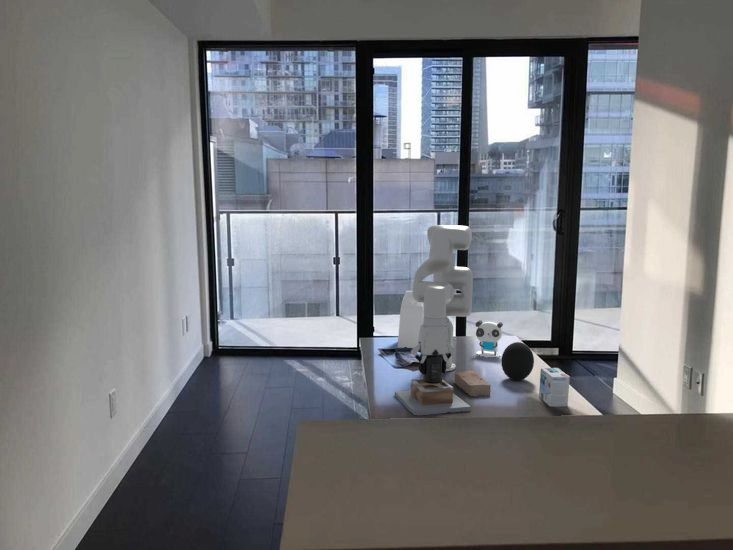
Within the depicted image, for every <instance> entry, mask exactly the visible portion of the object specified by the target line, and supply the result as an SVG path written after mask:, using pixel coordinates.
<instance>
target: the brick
mask: <svg viewBox="0 0 733 550" xmlns="http://www.w3.org/2000/svg"><path fill="white" fill-rule="evenodd" d="M454 383H455V385H457V387H459V388H460V389H461V388H462V389H461V390H462V391H463V392H465V393H466V394H467V393H468V394H467V395H469V396H470V397H478V396H477V395H485V396H487V395H488V396H491V391H492V388H491V387H492V386H491V384H490V382H488V381H486V380H485V379H483V378H482V376H480V375H479V373H478V372H476V371H473V370H466V371H465V370H464V371H457V372H456V371H455V372H454Z"/></svg>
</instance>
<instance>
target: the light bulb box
mask: <svg viewBox="0 0 733 550" xmlns="http://www.w3.org/2000/svg"><path fill="white" fill-rule="evenodd" d="M539 375H540V376H539V389H538V390H539V391H538V397H539V398H540V399H541V400H543V402H544V403H545V404H546V405H547V406H549V407H568V404H569V389H570V380H571V379H570V378H571V376H570V375H568V374H567V373H565V372H564V371H562V369H560V368H559V367H540V374H539Z"/></svg>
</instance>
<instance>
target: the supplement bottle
mask: <svg viewBox="0 0 733 550" xmlns="http://www.w3.org/2000/svg"><path fill="white" fill-rule="evenodd" d="M432 354H433V355H429V356H427V357H426V359H425V361H424V363H425V374H424V375H423V374H422V379H423V381H424V382H425V383H429V384H438V383H441V382H442V379H443V373H442V372H443V357H442V356H441V355H438V354H439V353H438V352H437V351H436V350H434V351H433V353H432Z"/></svg>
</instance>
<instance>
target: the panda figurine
mask: <svg viewBox="0 0 733 550" xmlns="http://www.w3.org/2000/svg"><path fill="white" fill-rule="evenodd" d="M503 325H504V324H503V322H494V321H482V320H481V319H480V320H478V321H477V322H475V327H477V329H476V331H475V336H476V338H477V340H478V341H479V343H478V344H479V346H480V347H481V349H480V350H477V351H476V353H475V355H477V354H478V355H477V356H479V355H480V357H482V356H484V357H483V358H488V357H496V358H500V357H499V356H496V354H497V353H498V352H499V351H498V348H499V347H498V345H499V343H498V342H499V341H500V340H501V338H502V336H503V329H502V327H503ZM501 354H502V353H501ZM501 354H500V356H501ZM501 357H502V356H501Z"/></svg>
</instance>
